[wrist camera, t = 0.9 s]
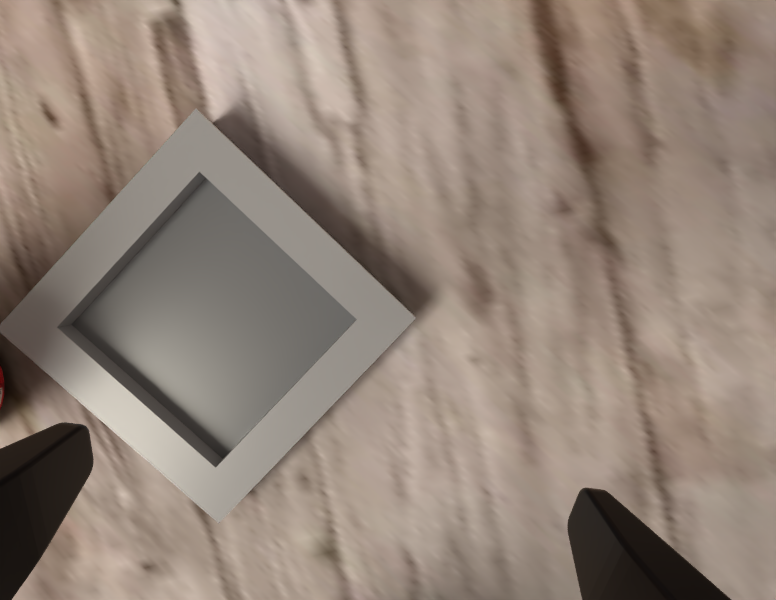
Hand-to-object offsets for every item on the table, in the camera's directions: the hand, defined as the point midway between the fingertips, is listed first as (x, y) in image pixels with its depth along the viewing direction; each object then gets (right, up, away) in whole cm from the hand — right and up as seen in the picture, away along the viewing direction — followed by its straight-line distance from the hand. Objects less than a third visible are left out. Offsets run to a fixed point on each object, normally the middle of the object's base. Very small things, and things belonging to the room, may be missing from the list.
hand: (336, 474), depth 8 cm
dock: (-8, +2, +15) cm, 17 cm away
